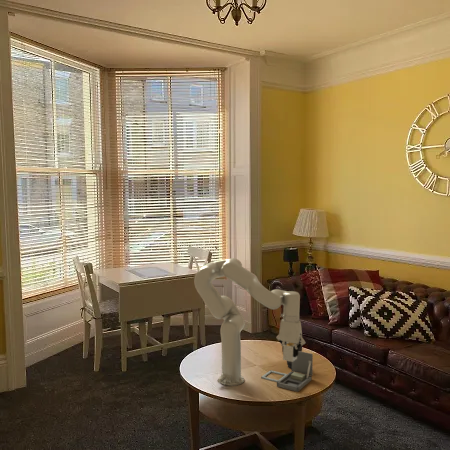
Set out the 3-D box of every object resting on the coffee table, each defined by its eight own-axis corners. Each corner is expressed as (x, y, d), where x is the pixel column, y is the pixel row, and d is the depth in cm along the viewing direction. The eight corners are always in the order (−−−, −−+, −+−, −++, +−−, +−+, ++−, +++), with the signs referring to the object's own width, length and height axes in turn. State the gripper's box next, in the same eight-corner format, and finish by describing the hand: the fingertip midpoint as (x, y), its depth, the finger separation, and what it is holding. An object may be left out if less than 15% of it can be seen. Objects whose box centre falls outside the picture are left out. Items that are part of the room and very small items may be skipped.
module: (292, 362, 228) (293, 345, 227) (283, 359, 230) (283, 343, 230) (297, 358, 232) (297, 342, 231) (287, 356, 235) (288, 340, 234)
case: (297, 393, 226) (298, 365, 225) (276, 387, 232) (276, 360, 231) (312, 380, 240) (312, 353, 239) (292, 375, 246) (292, 349, 245)
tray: (279, 383, 236) (279, 381, 236) (261, 379, 242) (261, 376, 242) (288, 376, 244) (288, 374, 244) (270, 372, 250) (270, 370, 250)
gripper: (271, 316, 231) (270, 353, 232) (304, 323, 221) (303, 361, 223) (278, 313, 237) (277, 349, 239) (311, 319, 228) (310, 356, 229)
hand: (290, 354), depth 231 cm, fingers closed on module, 5 cm apart
